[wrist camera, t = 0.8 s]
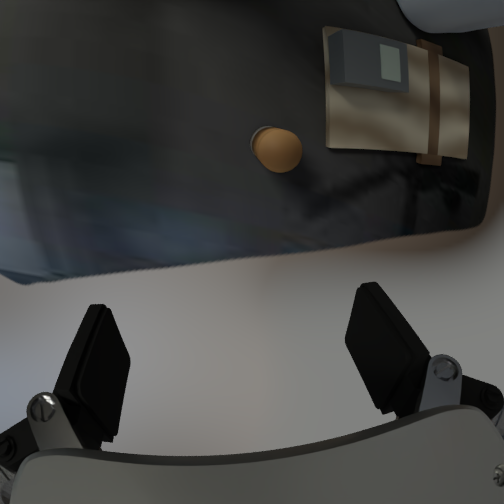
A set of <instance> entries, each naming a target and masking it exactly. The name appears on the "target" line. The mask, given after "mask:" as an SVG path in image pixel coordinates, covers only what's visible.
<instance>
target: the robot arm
mask: <svg viewBox="0 0 504 504" xmlns="http://www.w3.org/2000/svg"><path fill="white" fill-rule="evenodd" d="M345 343H346V346H347V348H348V350H349V352H350V354H351V356H352V358H353V360H354V362H355V365H356V367H357V369H358V371H359V373H360V375H361V377H362V379H363V381H364V383H365V385H366V388H367V390H368V392H369V394H370V396H371V398H372V401H373V403H374V405H375V407H376V408H377V409H380V410H381V412H382V414H387V413H390V412H393V411H394V412H395V414H396V420H394V421H391V422H388V423H385V424H382V425H379V426H376V427H372V428H369V429H366V430H362V431H359V432H356V433H352V434H348V435H345V436H341V437H337V438H333V439H328V440H324V441H320V442H315V443H310V444H305V445H300V446H294V447H289V448H283V449H276V450H270V451H262V452H253V453H243V454H231V455H214V456H156V455H138V454H127V453H116V452H107V451H102V449H101V448H100V447H101V444H102V441H104V442H113V438H114V436H116V435H117V433H118V428H119V422H120V416H121V410H122V404H123V399H124V393H125V388H126V383H127V378H128V373H129V369H130V356H129V353H128V351H127V349H126V347H125V344H124V342H123V339H122V337H121V335H120V332H119V330H118V327H117V325H116V322H115V319H114V317H113V314H112V311H111V309H110V308H107V307H106V305H104V304H92V305H90V306H89V308H88V310H87V312H86V314H85V316H84V318H83V320H82V323H81V325H80V327H79V329H78V331H77V334H76V336H75V338H74V340H73V342H72V344H71V347H70V349H69V351H68V354H67V356H66V359H65V361H64V364H63V366H62V369H61V371H60V374H59V377H58V379H57V382H56V385H55V388H54V390H53V393H49V392H42V393H39V394H37V395H35V396H34V397H33V398H32V399H31V400H30V401H29V403H28V406H27V411H26V412H27V418H25V419H23V420H22V421H21V422H19V423H17V424H15V425H14V426H12V427H11V428H9V429H8V430H6V431H4V432H3V433H1V434H0V504H504V398H503V395H502V393H501V391H500V390H499V389H498V388H497V387H496V386H494V385H491V384H489V383H485V382H482V381H479V380H476V379H474V378H470V377H468V376H465V375H462V369H461V366H460V364H459V363H458V362H457V361H456V360H455V359H454V358H452V357H450V356H448V355H443V354H440V355H436V356H434V357H432V358H431V356H430V355H429V351H428V350H427V348H426V347H425V345H424V344H423V343H422V341H421V340H420V338H419V337H418V336H417V334H416V333H415V331H414V330H413V329H412V327H411V326H410V325H409V323H408V322H407V321H406V319H405V318H404V317H403V315H402V314H401V313H400V311H399V310H398V309H397V307H396V306H395V305H394V303H393V302H392V301H391V300H390V298H389V297H388V296H387V294H386V293H385V292H384V291H383V289H382V288H381V287H380V286H379V284H378V283H376V282H369V283H363V284H361V286H360V287H359V288H358V289H357V291H356V295H355V300H354V304H353V308H352V312H351V316H350V320H349V324H348V328H347V332H346V335H345Z"/></svg>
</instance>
